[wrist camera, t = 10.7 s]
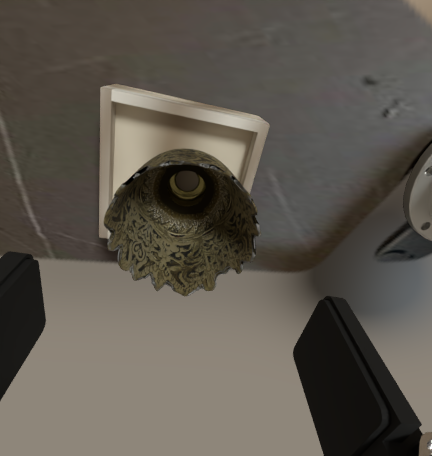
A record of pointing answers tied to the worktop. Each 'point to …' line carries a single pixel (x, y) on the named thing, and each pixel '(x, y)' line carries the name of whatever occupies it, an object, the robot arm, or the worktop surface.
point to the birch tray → (170, 138)
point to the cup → (182, 223)
